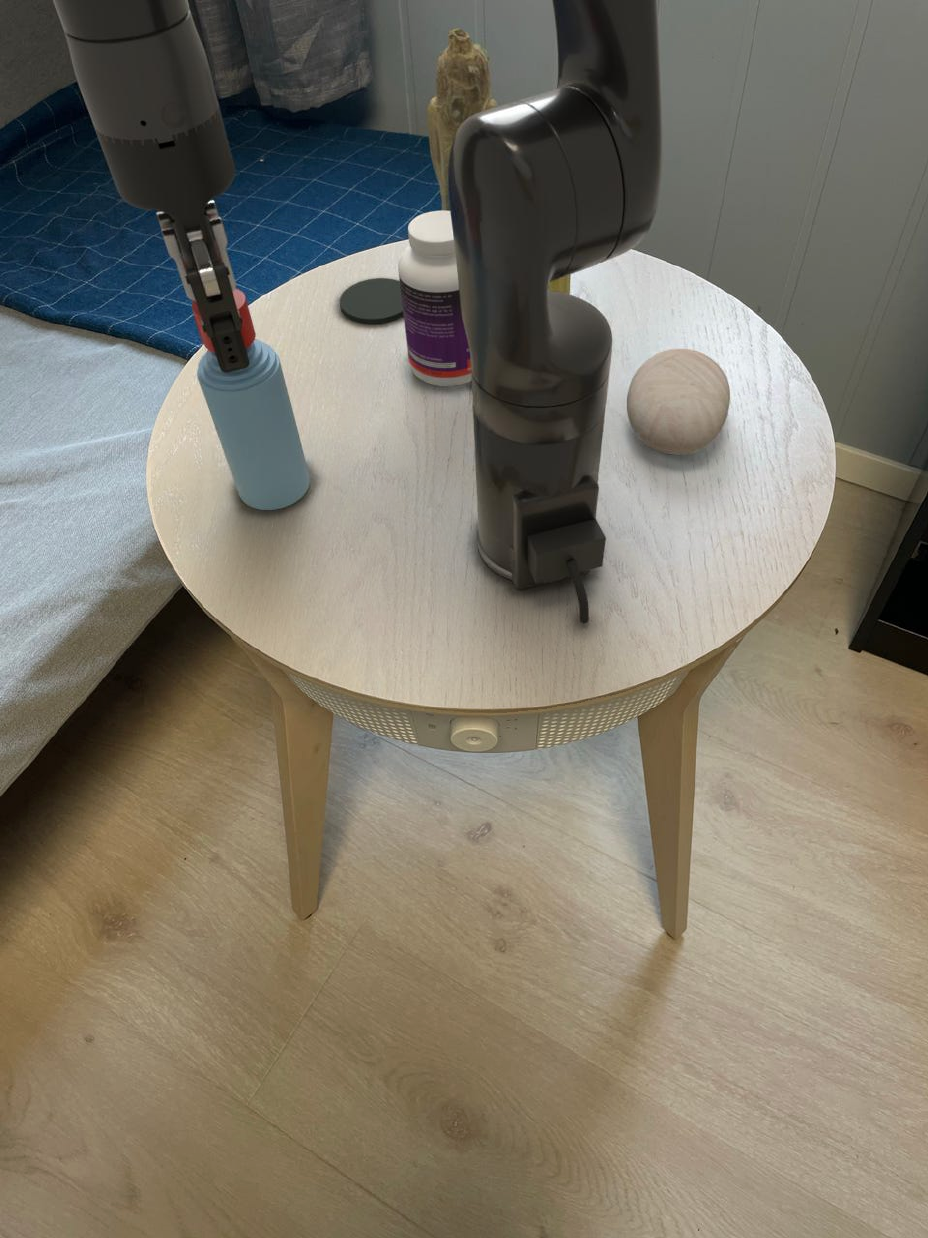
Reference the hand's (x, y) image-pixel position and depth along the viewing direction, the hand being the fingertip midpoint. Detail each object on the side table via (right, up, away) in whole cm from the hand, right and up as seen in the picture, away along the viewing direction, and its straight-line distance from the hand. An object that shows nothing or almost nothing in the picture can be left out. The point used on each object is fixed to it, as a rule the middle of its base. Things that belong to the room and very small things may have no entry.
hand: (230, 350), depth 65 cm
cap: (0, +1, -1) cm, 1 cm away
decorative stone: (+37, -2, +14) cm, 40 cm away
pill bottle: (+16, +5, +21) cm, 27 cm away
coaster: (+8, +14, +28) cm, 33 cm away
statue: (+19, +16, +29) cm, 38 cm away
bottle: (+1, -8, +11) cm, 14 cm away
